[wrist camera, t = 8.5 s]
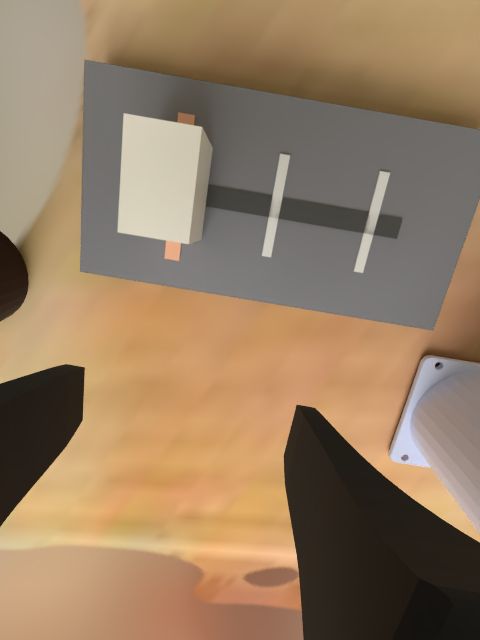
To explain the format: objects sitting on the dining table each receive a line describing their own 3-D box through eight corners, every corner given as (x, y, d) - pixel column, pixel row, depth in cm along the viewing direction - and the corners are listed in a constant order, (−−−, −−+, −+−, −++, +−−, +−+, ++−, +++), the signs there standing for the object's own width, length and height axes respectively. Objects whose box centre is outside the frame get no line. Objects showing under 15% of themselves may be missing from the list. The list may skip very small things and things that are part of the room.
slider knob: (212, 148, 16) (201, 127, 12) (201, 240, 17) (188, 244, 14) (151, 137, 16) (123, 113, 12) (144, 230, 17) (117, 232, 14)
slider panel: (474, 143, 17) (504, 133, 15) (415, 320, 20) (434, 331, 18) (103, 78, 17) (83, 58, 15) (96, 266, 20) (79, 271, 18)
